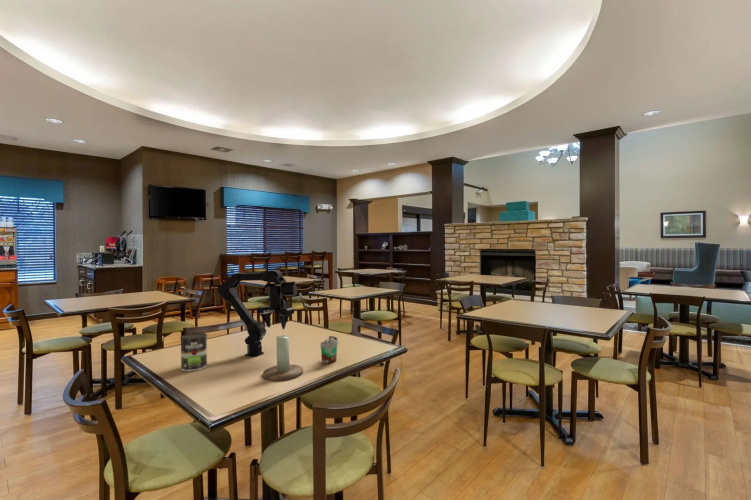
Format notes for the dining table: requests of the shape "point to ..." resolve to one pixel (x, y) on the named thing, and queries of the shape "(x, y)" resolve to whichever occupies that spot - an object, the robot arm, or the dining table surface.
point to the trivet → (291, 374)
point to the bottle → (282, 354)
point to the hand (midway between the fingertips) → (276, 328)
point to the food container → (329, 350)
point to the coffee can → (193, 351)
